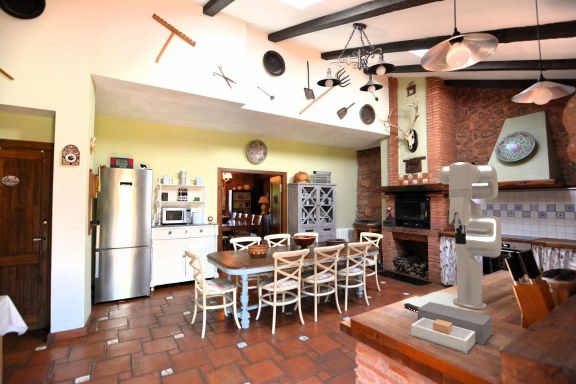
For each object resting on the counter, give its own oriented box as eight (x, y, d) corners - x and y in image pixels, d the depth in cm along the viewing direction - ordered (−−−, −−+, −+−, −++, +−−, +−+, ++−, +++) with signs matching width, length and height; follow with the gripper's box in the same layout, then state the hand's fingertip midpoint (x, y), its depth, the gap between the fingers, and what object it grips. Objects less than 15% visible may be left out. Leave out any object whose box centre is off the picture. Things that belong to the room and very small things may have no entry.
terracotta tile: (437, 326, 97) (437, 319, 97) (452, 330, 94) (452, 322, 94) (432, 330, 94) (432, 322, 94) (448, 335, 91) (448, 326, 91)
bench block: (429, 317, 114) (429, 301, 114) (491, 334, 100) (491, 316, 100) (417, 325, 105) (417, 308, 106) (483, 345, 91) (483, 325, 92)
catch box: (422, 327, 104) (423, 317, 104) (475, 343, 93) (475, 331, 93) (411, 335, 97) (411, 324, 97) (466, 353, 85) (466, 341, 86)
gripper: (455, 196, 120) (455, 241, 119) (443, 194, 109) (443, 244, 108) (476, 196, 114) (477, 243, 113) (466, 193, 104) (466, 246, 103)
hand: (460, 243), depth 111 cm, fingers closed
